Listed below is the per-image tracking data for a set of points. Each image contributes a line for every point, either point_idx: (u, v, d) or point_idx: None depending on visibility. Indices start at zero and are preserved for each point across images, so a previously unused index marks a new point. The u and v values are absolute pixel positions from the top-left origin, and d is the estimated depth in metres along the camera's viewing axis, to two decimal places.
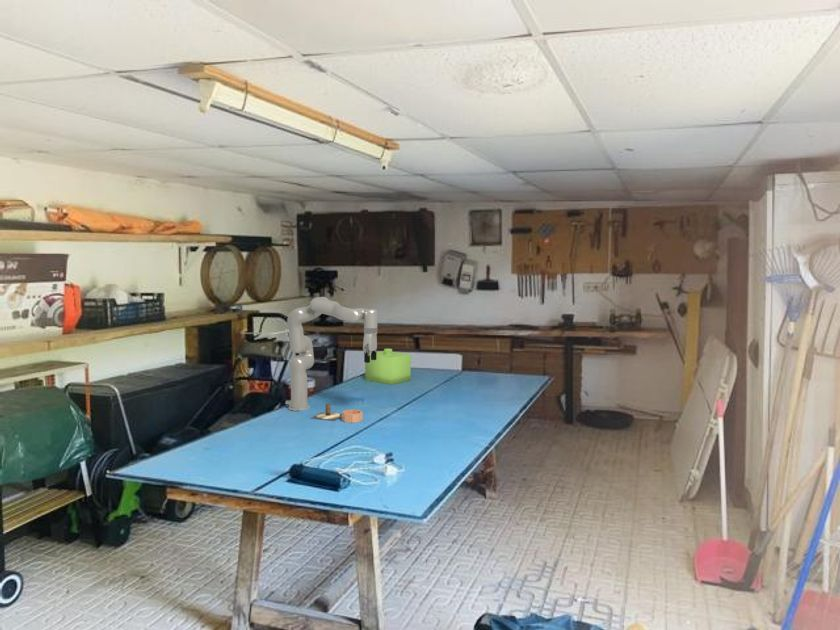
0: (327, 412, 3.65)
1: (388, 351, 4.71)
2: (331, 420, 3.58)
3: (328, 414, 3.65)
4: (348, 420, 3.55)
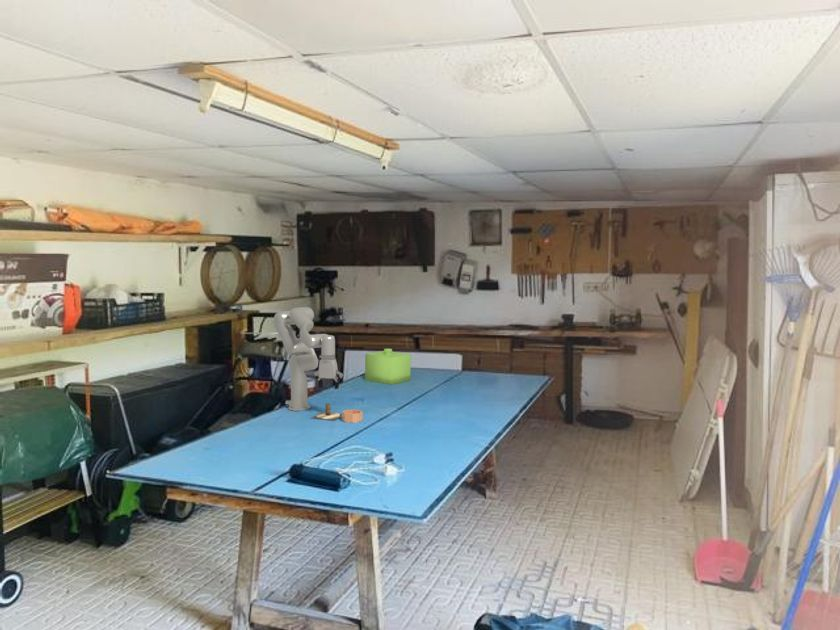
0: (327, 412, 3.65)
1: (388, 351, 4.71)
2: (331, 420, 3.58)
3: (328, 414, 3.65)
4: (348, 420, 3.55)
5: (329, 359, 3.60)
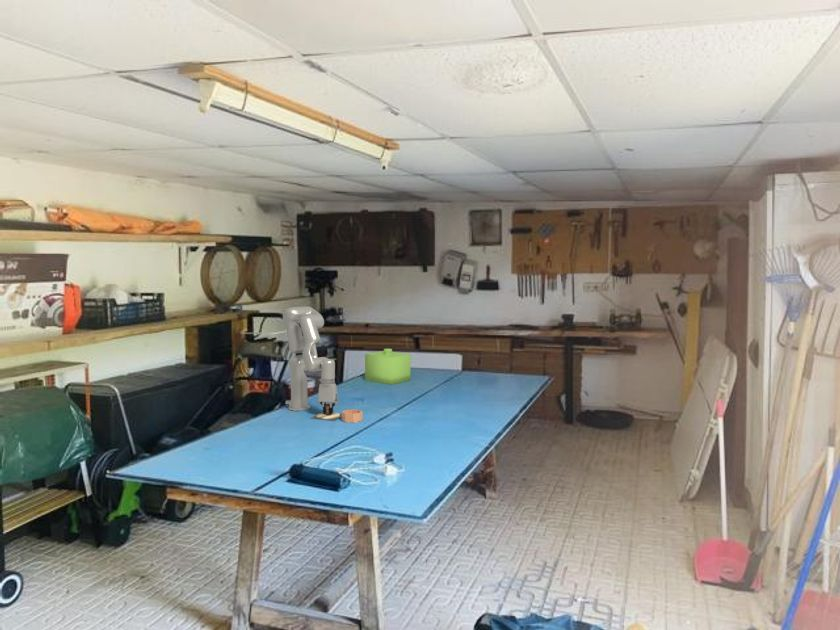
0: (327, 412, 3.65)
1: (388, 351, 4.71)
2: (331, 420, 3.58)
3: (328, 414, 3.65)
4: (349, 420, 3.54)
5: (329, 383, 3.61)
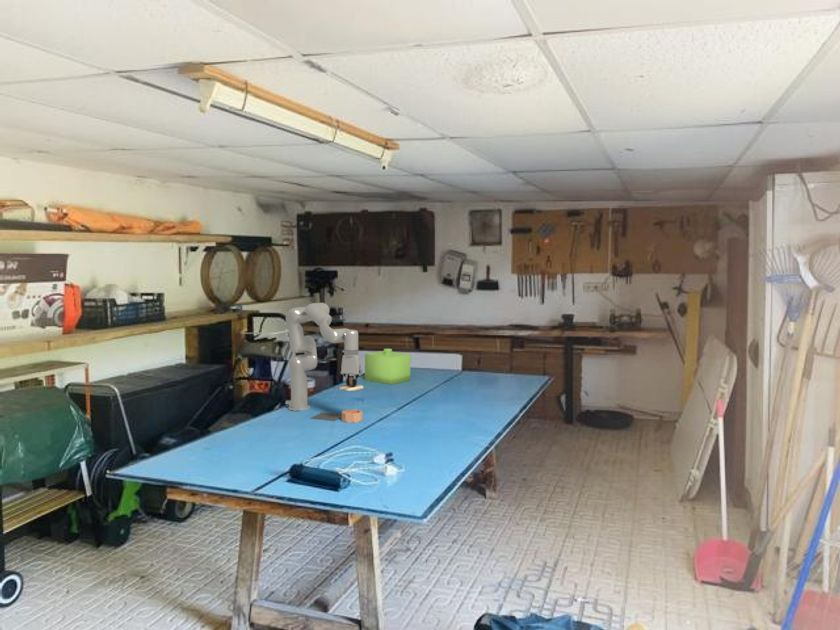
0: (350, 384, 3.57)
1: (388, 351, 4.71)
2: (331, 420, 3.58)
3: (351, 386, 3.57)
4: (349, 420, 3.54)
5: (352, 354, 3.53)
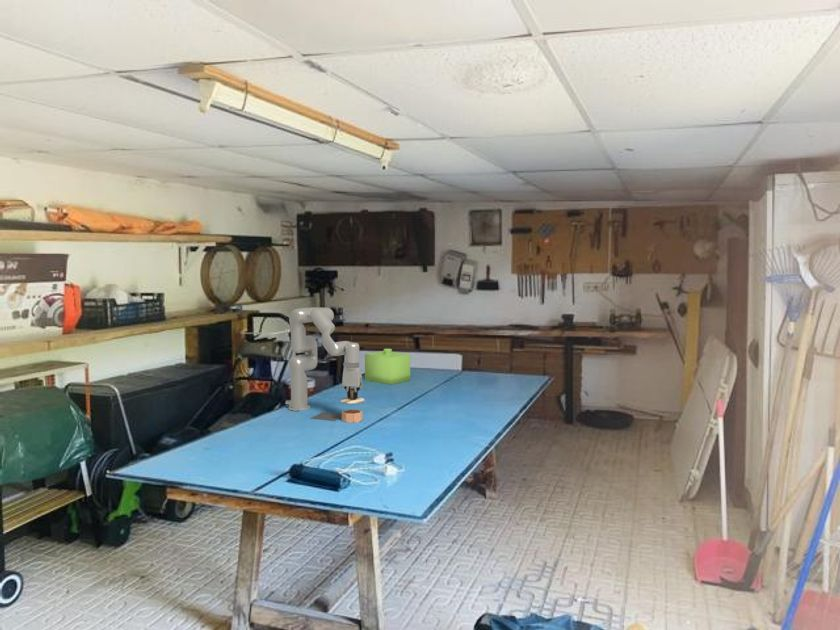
0: (351, 397, 3.57)
1: (388, 351, 4.71)
2: (331, 420, 3.58)
3: (352, 399, 3.57)
4: (350, 420, 3.54)
5: (353, 367, 3.53)
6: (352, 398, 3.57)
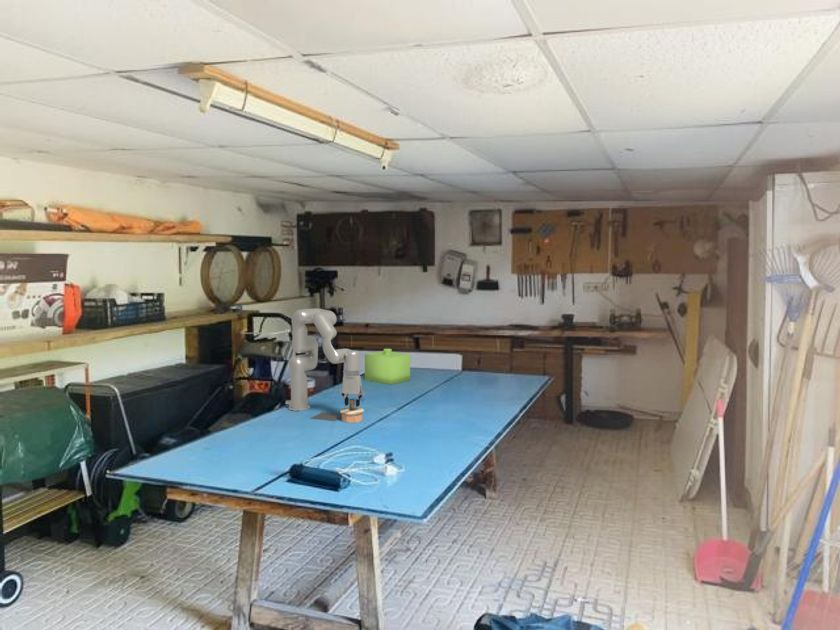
0: (351, 407, 3.58)
1: (387, 351, 4.71)
2: (331, 420, 3.58)
3: (352, 409, 3.58)
4: (350, 421, 3.54)
5: (353, 375, 3.54)
6: (351, 409, 3.58)
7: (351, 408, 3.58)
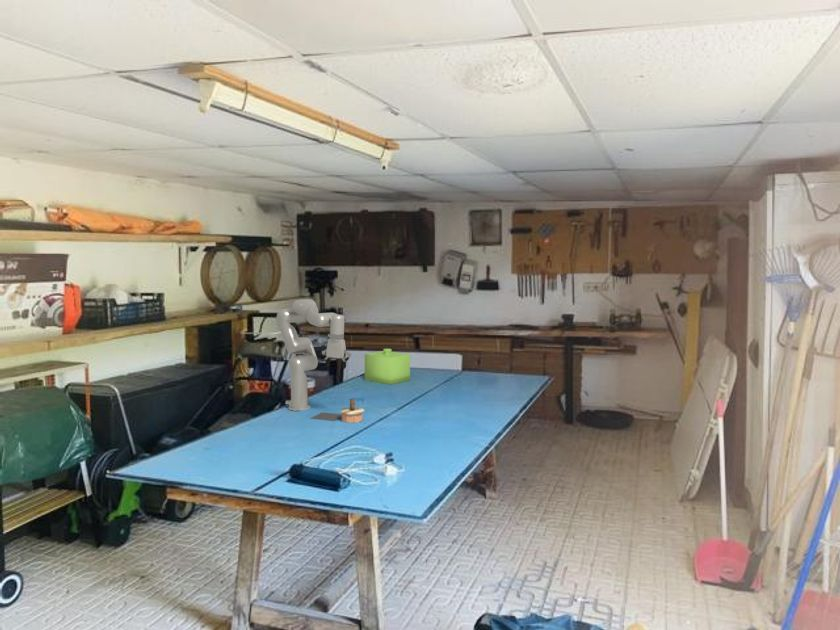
0: (351, 407, 3.58)
1: (387, 351, 4.71)
2: (331, 420, 3.58)
3: (352, 409, 3.58)
4: (350, 420, 3.54)
5: (338, 339, 3.56)
6: (352, 409, 3.58)
7: (351, 408, 3.58)
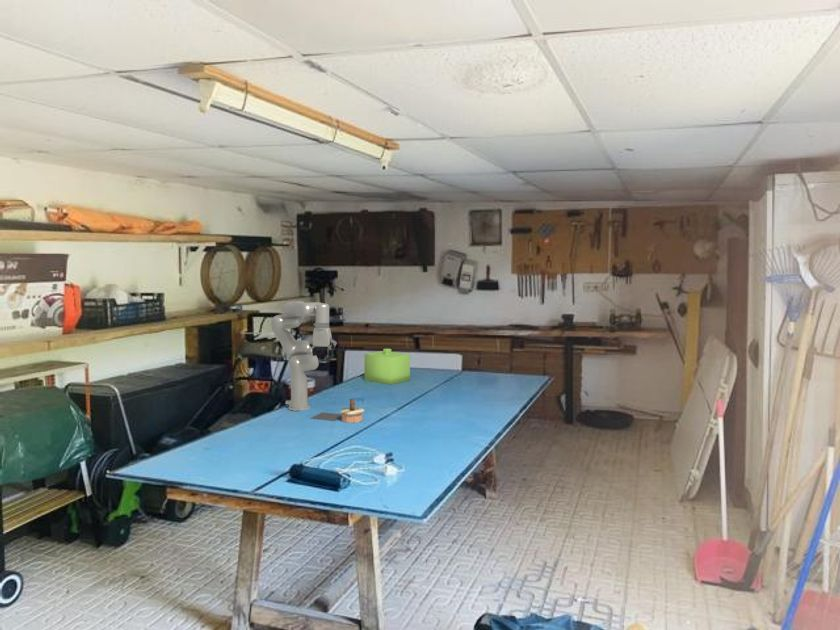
0: (351, 407, 3.58)
1: (387, 351, 4.71)
2: (331, 420, 3.58)
3: (352, 409, 3.58)
4: (350, 420, 3.54)
5: (323, 327, 3.60)
6: (352, 409, 3.58)
7: (351, 408, 3.58)
